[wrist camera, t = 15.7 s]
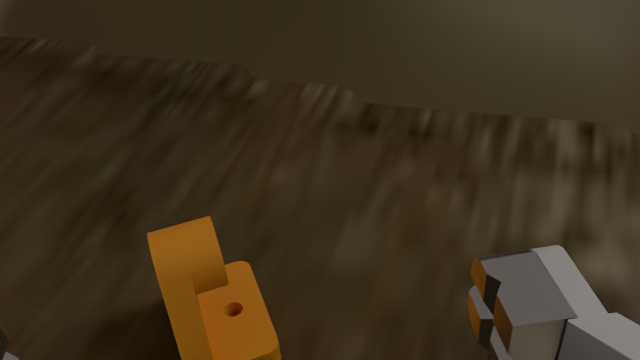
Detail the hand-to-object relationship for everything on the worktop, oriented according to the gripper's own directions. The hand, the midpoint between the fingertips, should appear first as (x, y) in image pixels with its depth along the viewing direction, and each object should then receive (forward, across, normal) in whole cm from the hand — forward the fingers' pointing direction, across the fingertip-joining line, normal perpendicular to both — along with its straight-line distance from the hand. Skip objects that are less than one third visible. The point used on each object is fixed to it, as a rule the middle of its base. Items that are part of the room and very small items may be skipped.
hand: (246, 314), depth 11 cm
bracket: (+27, +6, +32) cm, 43 cm away
